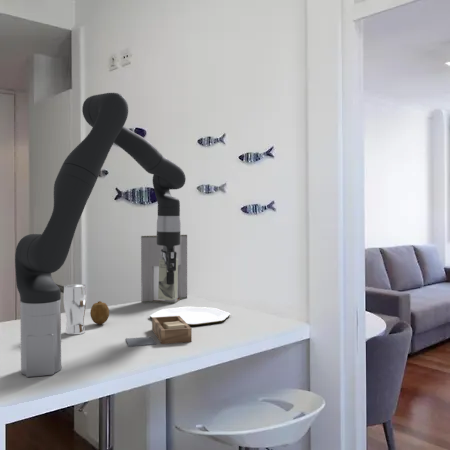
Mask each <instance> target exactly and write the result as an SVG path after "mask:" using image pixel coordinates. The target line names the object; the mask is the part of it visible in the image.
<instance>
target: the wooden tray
mask: <svg viewBox="0 0 450 450" xmlns="http://www.w3.org/2000/svg"><path fill="white" fill-rule="evenodd" d="M176 321H179V322H181V323H183V324H184V325H185V328H177V329H164V328H163V323H166V322H176ZM192 329H193V328H192V327H191V325H188V324H187V323H186V322H185V321H184V320H183V319H182V318H181V317H180V316H166V317H152V318H151V330H152V332H153V334H154V335H155V336H156V337H157V339H158V341H159V342H160V344H161V345H167V344H179V343H192V341H193V340H192V331H193V330H192Z"/></svg>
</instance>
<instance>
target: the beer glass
mask: <svg viewBox="0 0 450 450" xmlns="http://www.w3.org/2000/svg"><path fill="white" fill-rule="evenodd" d="M86 287H87V286H86V284H83V283H72V284H65V285H63V307H64V308H63V309H64V314H65V319H66V327H65V334H66V335H69V336H70V335H72V336H74V335H75V336H76V335H81V334H85V333H86V328H85V312H86V309H87V289H86Z"/></svg>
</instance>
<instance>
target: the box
mask: <svg viewBox="0 0 450 450" xmlns="http://www.w3.org/2000/svg"><path fill="white" fill-rule="evenodd" d="M170 267H172V265H170ZM166 279H167V272H166V266H165V265H164V258H163V259H159V287H158V299H162V300H174V299H176V298H177V281H178V259H176V271H175V272H174V284H172V285H168V284H167V283H166Z"/></svg>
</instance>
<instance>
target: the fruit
mask: <svg viewBox="0 0 450 450" xmlns="http://www.w3.org/2000/svg"><path fill="white" fill-rule="evenodd" d="M109 316H110V309H109V306H108V305H107V303H106V302H103V301H101V300H100V301H97V302H95V303H93V304H92V306H91V308H90V318H91V320H92V322H93V323H94V324H96V325H99V326H101V325H103V324H105V323H106V322H107V321H108V319H109Z"/></svg>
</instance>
